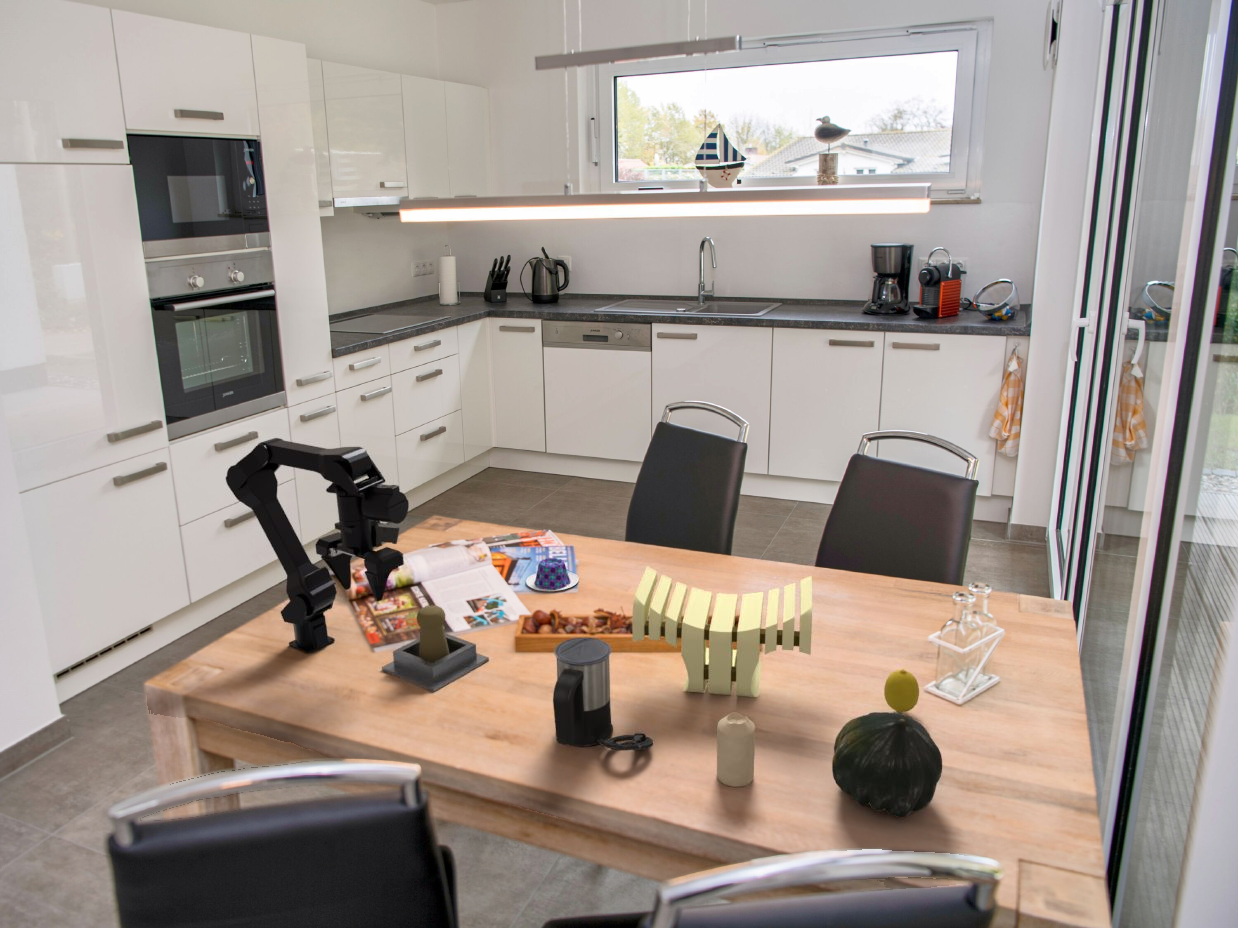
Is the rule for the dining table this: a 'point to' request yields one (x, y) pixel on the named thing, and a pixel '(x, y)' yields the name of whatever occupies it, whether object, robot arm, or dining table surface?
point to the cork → (432, 634)
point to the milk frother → (587, 697)
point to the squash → (887, 762)
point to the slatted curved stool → (721, 631)
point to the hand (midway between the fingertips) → (363, 594)
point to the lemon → (901, 691)
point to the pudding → (552, 576)
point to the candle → (735, 750)
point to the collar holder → (435, 663)
